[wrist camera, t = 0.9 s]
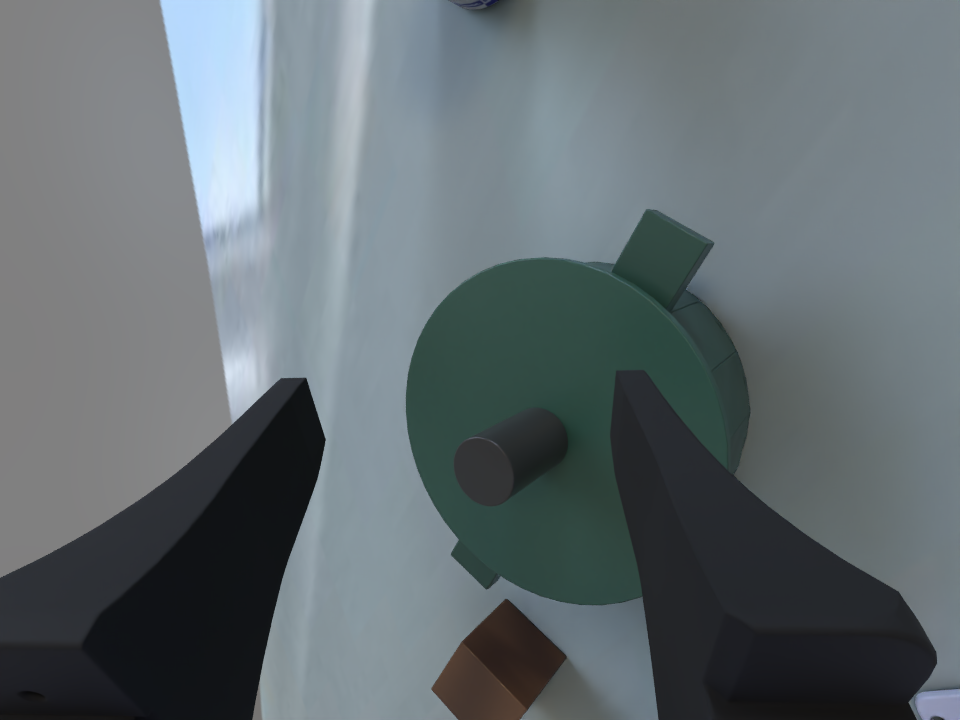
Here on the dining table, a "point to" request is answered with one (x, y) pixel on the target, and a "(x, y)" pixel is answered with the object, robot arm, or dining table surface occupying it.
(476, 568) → the pot
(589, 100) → the dining table surface
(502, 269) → the lid
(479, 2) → the energy drink
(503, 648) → the block
